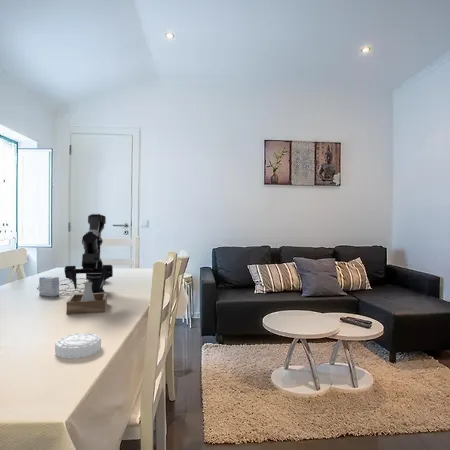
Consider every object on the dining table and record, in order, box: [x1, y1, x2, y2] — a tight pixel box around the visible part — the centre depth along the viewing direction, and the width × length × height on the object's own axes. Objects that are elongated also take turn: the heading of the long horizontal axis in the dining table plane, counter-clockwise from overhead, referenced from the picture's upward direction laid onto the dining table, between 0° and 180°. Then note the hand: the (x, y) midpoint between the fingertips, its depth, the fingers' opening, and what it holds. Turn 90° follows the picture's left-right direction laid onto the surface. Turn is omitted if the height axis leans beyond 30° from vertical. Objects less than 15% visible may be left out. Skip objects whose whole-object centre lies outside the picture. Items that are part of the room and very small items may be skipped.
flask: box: [81, 281, 95, 301], centre depth 141 cm, size 7×7×10 cm
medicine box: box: [38, 275, 60, 298], centre depth 163 cm, size 8×4×9 cm, turn 71°
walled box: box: [65, 292, 108, 315], centre depth 141 cm, size 14×14×5 cm
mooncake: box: [54, 332, 102, 360], centre depth 97 cm, size 12×12×4 cm
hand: (87, 288), depth 139 cm, fingers open, 9 cm apart
